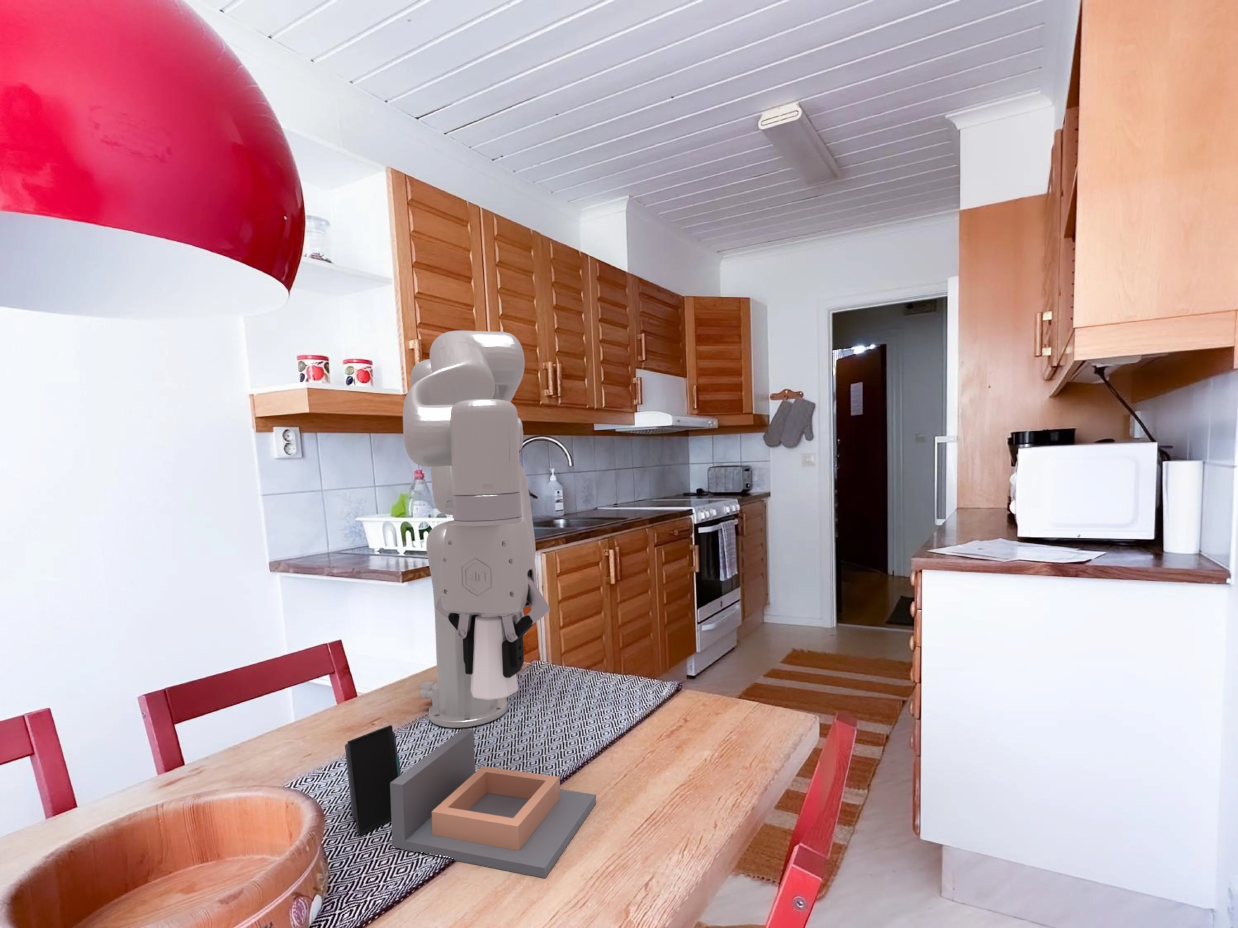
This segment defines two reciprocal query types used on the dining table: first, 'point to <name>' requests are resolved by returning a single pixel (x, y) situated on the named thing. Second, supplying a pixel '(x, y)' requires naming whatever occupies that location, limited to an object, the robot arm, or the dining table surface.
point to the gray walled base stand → (484, 811)
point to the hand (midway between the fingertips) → (493, 670)
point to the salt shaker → (490, 660)
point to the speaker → (372, 777)
